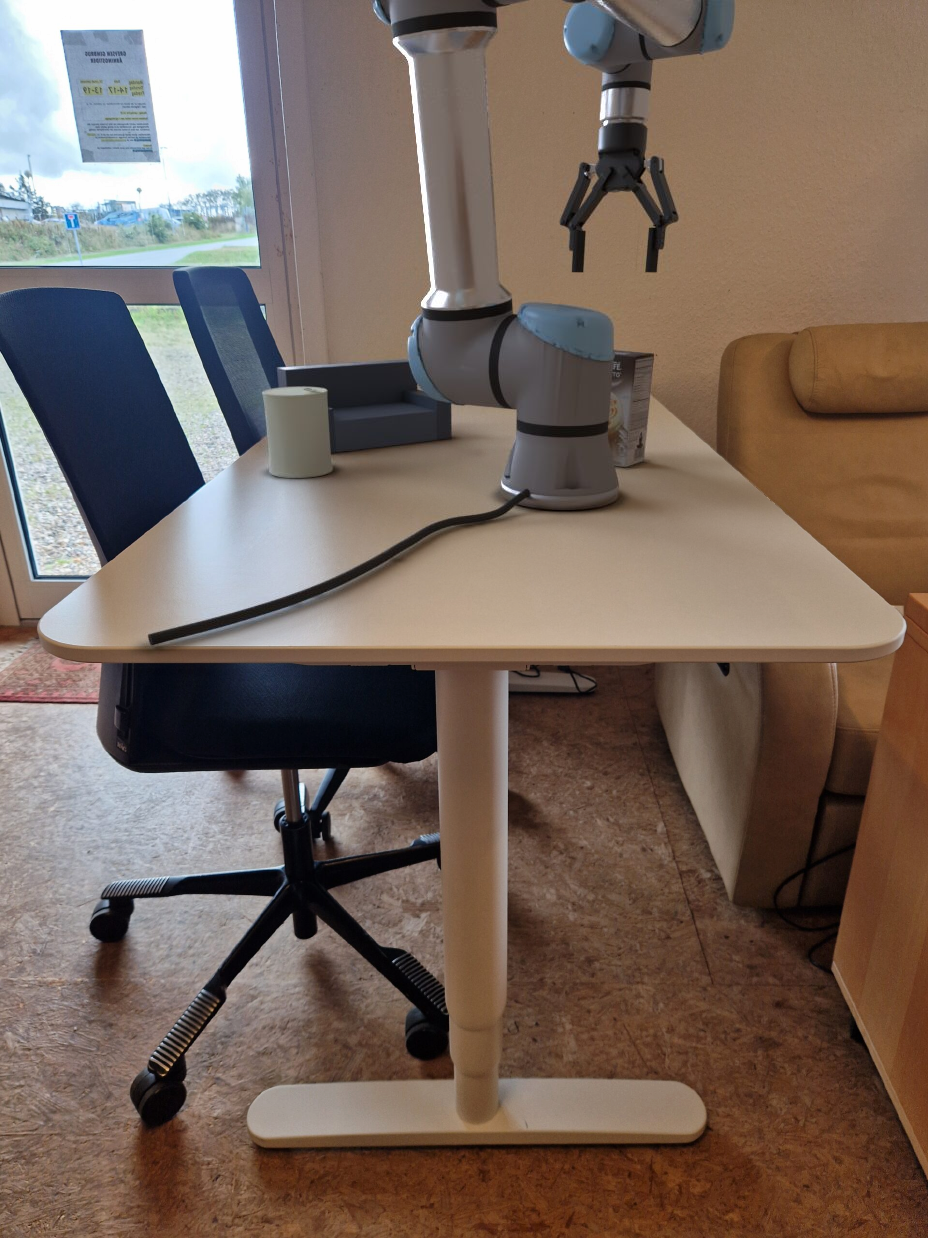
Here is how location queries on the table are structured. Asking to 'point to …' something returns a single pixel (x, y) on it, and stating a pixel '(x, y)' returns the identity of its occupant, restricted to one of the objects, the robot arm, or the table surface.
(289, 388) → the can
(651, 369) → the coffee box
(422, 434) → the couch
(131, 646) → the table surface
